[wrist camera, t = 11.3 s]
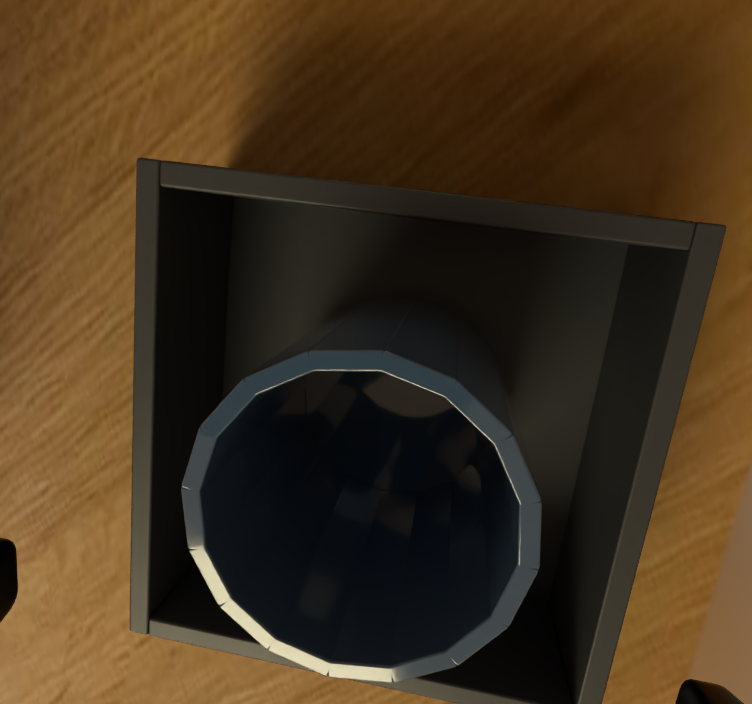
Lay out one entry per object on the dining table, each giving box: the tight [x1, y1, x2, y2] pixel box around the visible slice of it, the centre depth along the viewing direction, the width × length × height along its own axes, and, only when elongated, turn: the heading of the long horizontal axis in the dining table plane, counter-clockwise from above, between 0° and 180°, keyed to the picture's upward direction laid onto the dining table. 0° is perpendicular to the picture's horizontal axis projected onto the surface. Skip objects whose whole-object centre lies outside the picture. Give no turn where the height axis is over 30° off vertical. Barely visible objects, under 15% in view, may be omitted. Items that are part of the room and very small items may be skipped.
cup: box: [181, 296, 542, 683], centre depth 14 cm, size 7×7×8 cm
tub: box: [130, 158, 726, 704], centre depth 16 cm, size 13×13×5 cm
